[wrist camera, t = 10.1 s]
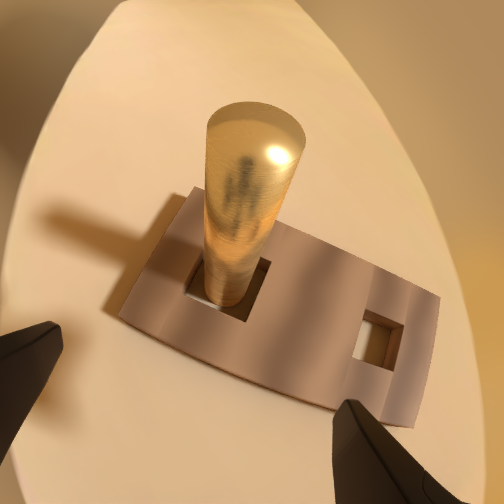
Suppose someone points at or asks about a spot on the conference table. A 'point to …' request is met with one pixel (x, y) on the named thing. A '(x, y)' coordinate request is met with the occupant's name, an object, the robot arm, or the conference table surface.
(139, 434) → the conference table surface
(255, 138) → the brass peg
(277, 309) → the block
